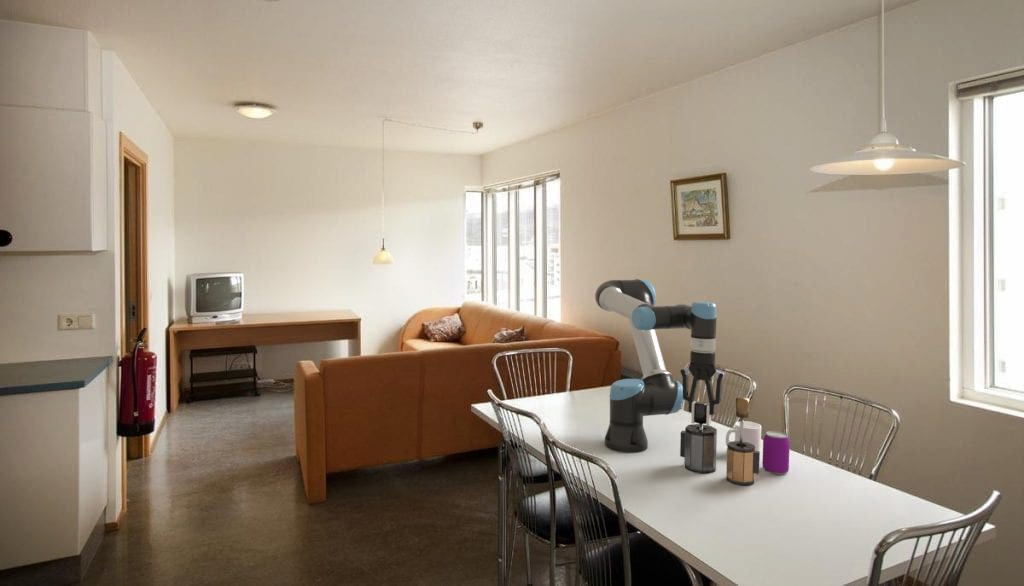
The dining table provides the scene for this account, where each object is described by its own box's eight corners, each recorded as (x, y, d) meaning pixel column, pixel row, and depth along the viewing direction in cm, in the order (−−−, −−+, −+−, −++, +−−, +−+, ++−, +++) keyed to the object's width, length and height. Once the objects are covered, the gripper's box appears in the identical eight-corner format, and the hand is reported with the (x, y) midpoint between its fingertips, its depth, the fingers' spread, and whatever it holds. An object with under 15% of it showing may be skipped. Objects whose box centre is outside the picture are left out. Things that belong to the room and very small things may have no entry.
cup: (765, 457, 201) (766, 428, 200) (730, 458, 200) (731, 429, 199) (752, 449, 209) (753, 420, 208) (720, 450, 208) (720, 421, 207)
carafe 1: (676, 469, 190) (677, 429, 189) (684, 459, 199) (685, 421, 198) (711, 475, 185) (712, 434, 184) (718, 466, 193) (719, 426, 192)
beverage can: (768, 464, 194) (769, 428, 193) (792, 471, 189) (793, 434, 188) (758, 470, 189) (759, 433, 188) (782, 477, 183) (784, 439, 182)
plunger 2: (730, 456, 180) (731, 398, 178) (733, 451, 184) (735, 395, 183) (748, 460, 177) (750, 401, 176) (751, 454, 181) (753, 397, 180)
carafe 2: (723, 482, 180) (724, 446, 179) (729, 473, 187) (730, 439, 186) (755, 488, 175) (757, 452, 174) (760, 479, 182) (761, 444, 181)
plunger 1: (687, 461, 190) (688, 404, 189) (692, 455, 196) (693, 399, 194) (708, 465, 187) (709, 407, 185) (713, 459, 192) (714, 402, 191)
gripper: (672, 350, 190) (671, 422, 191) (728, 355, 181) (726, 430, 182) (679, 346, 196) (677, 416, 198) (733, 351, 187) (731, 424, 189)
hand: (701, 423), depth 190 cm, fingers closed on plunger 1, 4 cm apart
